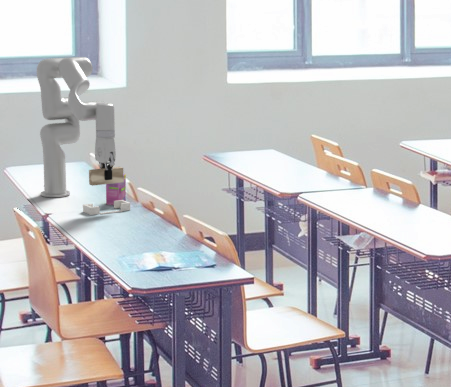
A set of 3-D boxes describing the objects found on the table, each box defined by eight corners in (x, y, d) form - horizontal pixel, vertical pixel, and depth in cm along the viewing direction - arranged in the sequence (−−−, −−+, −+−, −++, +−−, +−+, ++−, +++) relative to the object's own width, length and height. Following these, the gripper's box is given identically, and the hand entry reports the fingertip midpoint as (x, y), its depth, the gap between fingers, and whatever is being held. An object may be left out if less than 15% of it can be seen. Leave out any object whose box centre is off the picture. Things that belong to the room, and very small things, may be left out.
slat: (89, 184, 411) (88, 169, 409) (120, 181, 418) (119, 166, 417) (92, 185, 408) (92, 170, 407) (123, 182, 416) (123, 167, 414)
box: (119, 205, 426) (118, 177, 424) (106, 204, 428) (105, 177, 425) (126, 200, 436) (125, 173, 434) (113, 200, 438) (113, 173, 435)
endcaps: (83, 211, 413) (82, 204, 413) (122, 207, 423) (122, 199, 423) (91, 215, 407) (91, 208, 406) (131, 210, 416) (131, 203, 416)
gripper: (88, 132, 414) (89, 177, 417) (106, 137, 401) (107, 183, 404) (104, 131, 418) (105, 175, 421) (123, 135, 405) (124, 181, 408)
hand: (106, 178), depth 413 cm, fingers closed on slat, 2 cm apart
